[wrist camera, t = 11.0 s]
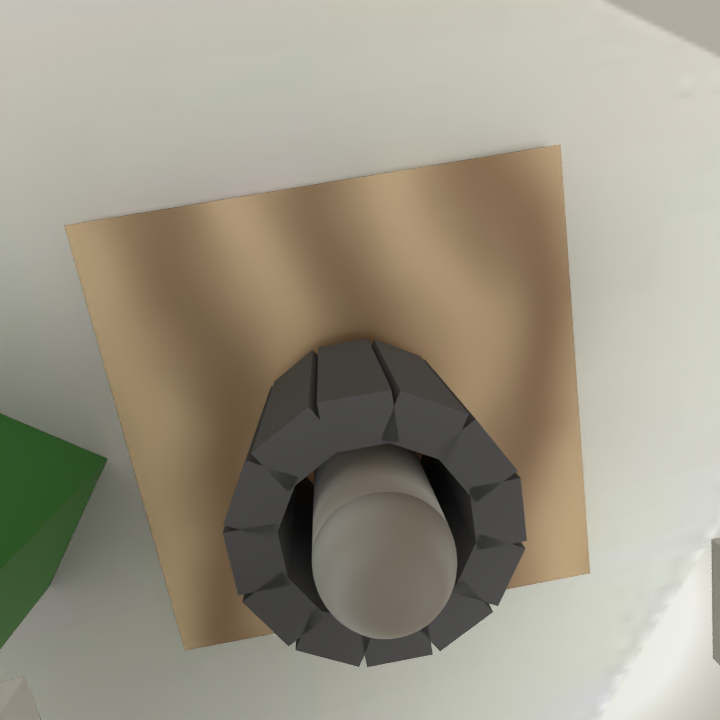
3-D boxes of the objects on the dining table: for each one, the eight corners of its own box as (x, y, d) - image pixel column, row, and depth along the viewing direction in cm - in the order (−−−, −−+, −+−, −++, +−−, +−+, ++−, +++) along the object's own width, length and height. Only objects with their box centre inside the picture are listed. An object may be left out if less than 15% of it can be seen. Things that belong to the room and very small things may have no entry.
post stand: (192, 627, 27) (64, 1014, 14) (81, 226, 22) (-281, 208, 9) (575, 555, 28) (816, 856, 14) (545, 150, 23) (860, 27, 10)
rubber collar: (279, 547, 22) (261, 687, 15) (238, 361, 20) (195, 424, 13) (470, 512, 22) (536, 633, 15) (446, 324, 20) (509, 368, 13)
